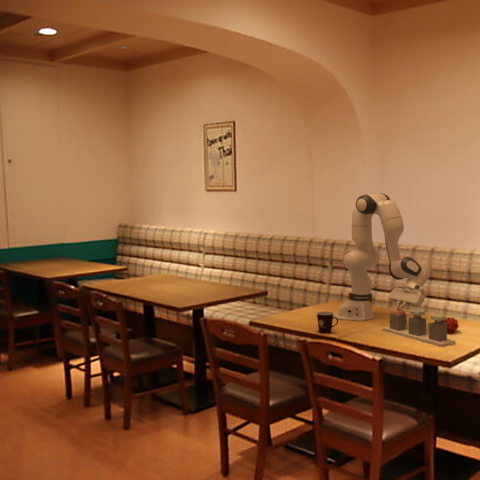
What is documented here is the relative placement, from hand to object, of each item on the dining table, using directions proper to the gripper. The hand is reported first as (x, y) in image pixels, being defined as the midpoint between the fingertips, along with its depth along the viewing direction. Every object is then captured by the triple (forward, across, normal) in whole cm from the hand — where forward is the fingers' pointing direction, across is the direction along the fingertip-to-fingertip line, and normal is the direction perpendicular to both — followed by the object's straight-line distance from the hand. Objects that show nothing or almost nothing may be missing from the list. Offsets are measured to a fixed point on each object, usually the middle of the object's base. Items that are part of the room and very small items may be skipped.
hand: (398, 309), depth 320 cm
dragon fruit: (-6, +16, +23) cm, 29 cm away
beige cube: (+2, +13, +2) cm, 13 cm away
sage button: (+2, +25, +2) cm, 26 cm away
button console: (+8, +12, +8) cm, 17 cm away
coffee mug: (+30, -21, -13) cm, 39 cm away
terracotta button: (+4, 0, +4) cm, 5 cm away
